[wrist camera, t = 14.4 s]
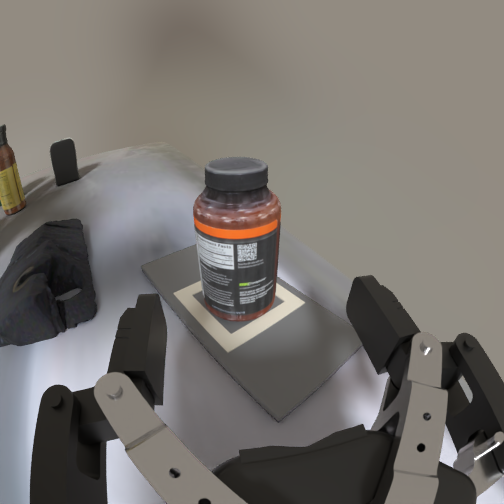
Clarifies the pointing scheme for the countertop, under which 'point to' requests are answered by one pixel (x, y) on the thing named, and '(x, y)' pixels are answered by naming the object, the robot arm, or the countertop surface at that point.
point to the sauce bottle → (9, 178)
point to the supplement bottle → (237, 238)
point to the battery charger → (64, 161)
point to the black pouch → (46, 285)
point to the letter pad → (260, 336)
